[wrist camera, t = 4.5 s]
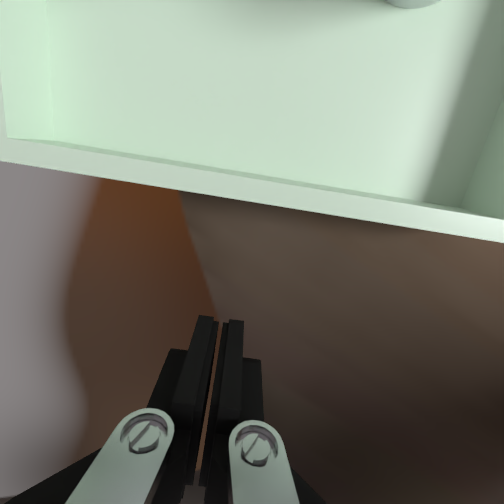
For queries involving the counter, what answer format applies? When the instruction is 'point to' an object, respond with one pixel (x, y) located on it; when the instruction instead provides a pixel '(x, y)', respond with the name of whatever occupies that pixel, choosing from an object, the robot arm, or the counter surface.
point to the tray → (268, 102)
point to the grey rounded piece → (412, 3)
